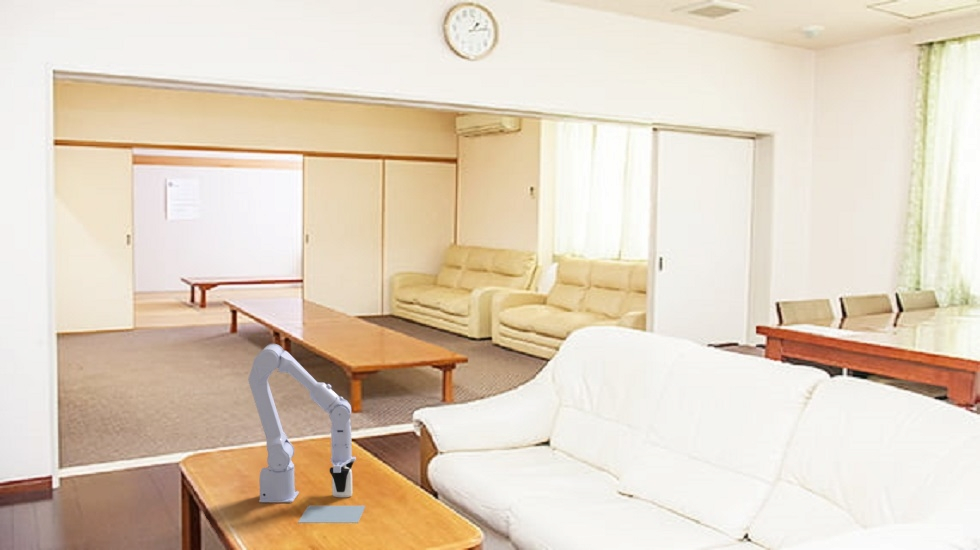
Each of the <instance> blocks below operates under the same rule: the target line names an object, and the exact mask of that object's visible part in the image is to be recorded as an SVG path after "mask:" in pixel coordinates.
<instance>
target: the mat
mask: <svg viewBox="0 0 980 550" xmlns="http://www.w3.org/2000/svg"><path fill="white" fill-rule="evenodd" d="M365 507H366V505H307V507H306V508H305V510H304V512H303V513H302V515H301V516H300V518H299V519H298V521H297V523H298V524H309V523H310V524H328V523H329V524H351V523H352V524H359V522H360V519H361V517H362V515H363V513H364V511H365Z"/></svg>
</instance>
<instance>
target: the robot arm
mask: <svg viewBox="0 0 980 550" xmlns="http://www.w3.org/2000/svg"><path fill="white" fill-rule="evenodd" d="M276 369H277V371H276V372H277V373H284V374H285V373H286V374H289V375H290V376H292V378H293V379H295V381H297V382H298V383H300V384H301V385H302V387H304V388H306V389H307V391H308V392H309V398H310V399H311V400H312V401H313V402H314V403H316V405H318V407H320V408H321V409H322V410H323V411H324V412H325V413H327V414H328V415H329V417H328V418H329V419H330V422H331V427H330V438H331V439H330V441H331V443H330V446H331V451H330V452H331V454H330V455H331V458H330V463H331V464H332V466H333V467H330V468H329V474H330V475H331V478H332V477H333V479H334V482H335V486H336V490H337V492H344V491H345V487H346V479H347V475H348V472H349V470H350V469H351V470H352V468H353V467H352V466H353V465H354V462H355V461H356V460H357V457H356V456H352V455H353V453H352V426H351V425H352V424H351V423H352V421H351V414H352V405H351V404H350V402H349V401H348V400H347V399H344V397H343V396H339V395H338V393H336V392H335V391H334V390H333V389H332V385H331V384H330V383H327V384H326V383H325V382H319V381H317V380H316V379H315V378H314V377H313V376H312V375H311V374H310V373H309V372H308V371H307V370H306V369H305V367H303V366H302V365H301V364H300V362H298V361H297V360H296V358H295V357H293V356H292V355H291V354H290V352H289V351H287V350H284V349H283V347H282V346H281V345H279V344H276V343H269V344H268V345H265V347H264V348H263V349H262V350H261V351H260V352H259V353H258V354H257V355H256V357H255V358H254V359H253V360H252V366H251V369H250V372H249V376H248V385H249V388H250V390H251V394H252V396H253V400H254V403H255V406H256V407H255V408H256V409H257V413H258V416H259V419H260V422H261V426H262V429H263V432H264V433H263V434H264V436H265V439H266V451H267V458H266V462H267V465H268V466H266V467H262V468H261V470H260V471H259V500H258V502H259V503H293V502H294V501H295V500H296V499H297V496H298V495H299V494H300V491H299V490H296V487H295V486H296V485H295V480H296V479H295V464H294V462H293V461H292V458H293V457H294V455H295V447H294V445H293V443H291V441H289V439H288V435H287V434H286V433H285V431H284V430H283V426H282V423H281V419H280V416H279V413H278V410H277V407H276V404H275V400H274V396H273V394H272V391H271V387H270V383H269V378H270V376H271V375H272V373H273V372H274V371H275V370H276ZM344 465H346V467H348V468H344V467H343V466H344Z"/></svg>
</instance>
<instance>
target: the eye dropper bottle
mask: <svg viewBox="0 0 980 550" xmlns="http://www.w3.org/2000/svg"><path fill="white" fill-rule="evenodd" d="M343 467H344V468H348V467H346V465H344V466H343ZM331 480H332V481H331V484H332V487H331V489H332V496H333V497H334V498H351V496H352V495H353V493H354V492H353V471H352V468H351V469H350V470H349V472H348V475H347V479H346V487H345V491H344V492H337V490H336V486H335V482H334V479H333V477H332V476H331Z"/></svg>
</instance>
